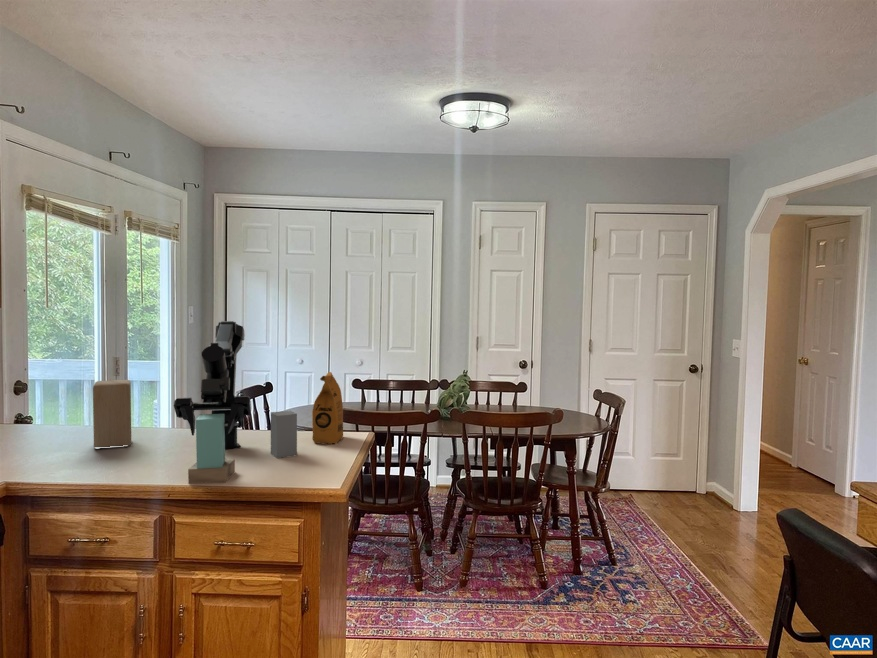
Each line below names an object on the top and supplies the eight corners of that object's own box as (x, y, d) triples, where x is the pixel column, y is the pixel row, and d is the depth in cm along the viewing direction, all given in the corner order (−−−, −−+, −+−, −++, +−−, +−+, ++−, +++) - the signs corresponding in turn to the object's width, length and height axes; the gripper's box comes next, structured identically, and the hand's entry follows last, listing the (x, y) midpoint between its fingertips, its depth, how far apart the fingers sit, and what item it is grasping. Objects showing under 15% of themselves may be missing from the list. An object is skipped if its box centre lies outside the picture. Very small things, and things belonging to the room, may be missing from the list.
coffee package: (307, 444, 184) (307, 376, 183) (318, 435, 197) (318, 371, 196) (337, 445, 183) (337, 376, 182) (346, 436, 196) (347, 371, 195)
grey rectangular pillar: (270, 453, 173) (270, 412, 172) (290, 450, 176) (290, 410, 175) (276, 458, 168) (276, 415, 167) (296, 455, 171) (296, 413, 170)
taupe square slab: (200, 474, 153) (199, 459, 153) (234, 473, 154) (234, 458, 154) (188, 485, 144) (188, 469, 144) (225, 484, 145) (225, 468, 145)
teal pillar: (200, 461, 150) (199, 414, 149) (225, 460, 151) (224, 413, 151) (196, 468, 144) (195, 419, 143) (222, 467, 146) (221, 418, 145)
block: (93, 450, 174) (92, 385, 173) (95, 443, 183) (94, 380, 182) (131, 447, 178) (130, 383, 178) (131, 440, 187) (130, 379, 186)
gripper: (174, 367, 150) (165, 417, 139) (249, 366, 154) (246, 414, 144) (181, 392, 158) (172, 442, 147) (252, 390, 162) (249, 438, 152)
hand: (210, 433), depth 147 cm, fingers open, 8 cm apart
